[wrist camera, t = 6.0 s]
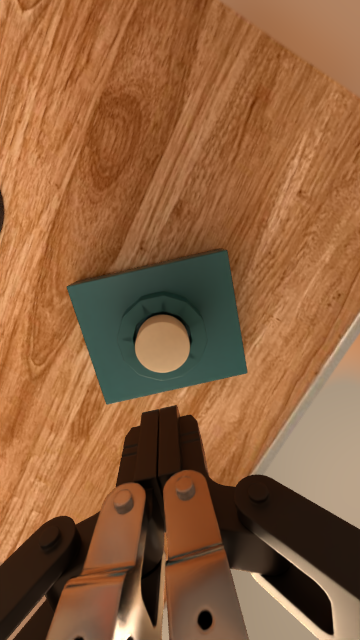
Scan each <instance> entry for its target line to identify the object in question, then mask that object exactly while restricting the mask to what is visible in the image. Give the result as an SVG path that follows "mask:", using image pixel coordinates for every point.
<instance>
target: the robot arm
mask: <svg viewBox="0 0 360 640" xmlns="http://www.w3.org/2000/svg"><path fill="white" fill-rule="evenodd" d="M123 448H124V449H123V452H122V458H121V462H120V467H119V472H118V478H117V483H116V488H114V489H113V490H112V491H111V492H110V493H109V494H108V495H107V497H106V498H105V500H104V502H103V504H102V507H101V511H99V512H98V513H96V514H95V515H93V516H91V517H89V518H87V519H86V520H84V521H82V522H80V523H78V524H76V525H75V523H74V521H73V519H72V518H70V517H68V516H59V517H56V518H53V519H51V520H49V521H48V522H46V523H45V524H43V525H42V526H41V527H40V528H39V529H38V530H37V531H36V532H35V533H34V534H32V535H31V536H30V537H29V538H28V539H27V540H26V541H25V542H24V543H23V544H22V545H21V546H20V547H19V548H18V549H17V550H16V551H15V552H14V553H13V554H12V555H11V556H10V557H9V558H8V559H7V560H6V561H5V562H4V563H3V564H2V565H1V566H0V640H7V639H8V638H9V636H10V635H11V634H12V633H13V632H14V630H15V629H16V628H17V627H18V626H19V625H20V623H21V622H22V621H23V620H24V619H25V617H26V616H27V615H28V614H29V613H30V612H31V610H32V609H33V608H34V607H35V606H36V604H37V603H38V602H39V601H40V600H41V599H42V597H43V596H44V595H45V597H46V601H45V602H44V603H43V604H42V605H41V606H40V608H39V609H38V610H37V611H36V612H35V614H34V615H33V616H32V617H31V619H30V620H29V621H28V622H27V623H26V624H25V626H24V627H23V628H22V629H21V631H20V632H19V633H18V634H17V635H16V637H15V638H14V639H13V640H162V619H163V602H164V586H165V581H166V596H167V610H168V626H169V640H249V638H248V634H247V630H246V627H245V623H244V620H243V615H242V612H241V608H240V604H239V601H238V597H237V593H236V589H235V585H234V582H233V578H232V574H231V570H230V569H236V570H241V571H247V572H251V574H252V576H253V577H254V579H255V580H256V581H257V582H258V583H259V584H260V585H261V586H262V587H263V588H264V589H265V590H267V591H268V592H269V593H270V594H271V595H272V596H273V597H274V598H275V599H276V600H277V601H278V602H279V603H281V604H282V605H283V606H284V607H285V608H286V609H287V610H288V611H289V612H290V613H291V614H292V615H293V616H294V617H296V618H297V619H298V620H299V621H300V622H301V623H302V624H303V625H304V626H305V627H306V628H307V629H309V630H310V631H311V632H312V633H313V634H314V635H315V636H316V637H317V638H318V639H319V640H360V529H358V528H357V527H355V526H353V525H351V524H349V523H348V522H346V521H344V520H343V519H341V518H339V517H337V516H336V515H334V514H332V513H331V512H329V511H327V510H325V509H324V508H322V507H320V506H318V505H317V504H315V503H313V502H311V501H310V500H308V499H306V498H305V497H303V496H301V495H299V494H298V493H296V492H294V491H293V490H291V489H289V488H287V487H286V486H284V485H282V484H280V483H279V482H277V481H275V480H274V479H272V478H270V477H267V476H264V475H251V476H247V477H245V478H243V479H242V480H241V481H240V482H239V483H238V484H237V485H236V487H232V486H224V485H220V484H218V483H216V482H214V481H213V480H212V479H211V478H210V477H209V474H208V469H207V463H206V458H205V453H204V448H203V444H202V440H201V435H200V431H199V427H198V423H197V421H196V419H195V418H194V417H193V416H192V415H186V416H182V417H180V414H179V410H178V407H177V405H175V406H170V407H166V408H161V409H160V410H159V409H157V410H153V411H148V412H144V413H142V416H141V424H140V426H137V427H133V428H131V430H130V431H129V433H128V434H127V435H126V437H125V441H124V447H123ZM164 532H166V535H167V548H168V561H166V554H165V550H164Z"/></svg>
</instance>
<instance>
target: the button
mask: <svg viewBox="0 0 360 640" xmlns="http://www.w3.org/2000/svg"><path fill="white" fill-rule="evenodd" d="M135 352H136V356H137V358H138V360H139V361H140V363H141V364H142V365H143V366H145V367H146V368H147V369H149V370H151V371H154V372H159V373H166V372H170V371H173V370H176V369H177V368H179V367H180V366H181V365H182V364H183V363H184V362H185V361H186V359H187V357H188V355H189V352H190V342H189V338H188V334H187V330H186V328H185V326H184V325H183V324H182V322H181V321H179V320H178V319H177V318H175V317H173V316H170V315H164V314H163V315H155V316H152V317H150V318H149V319H147V320H146V321H145V322H144V323H143V324H142V325H141V327H140V329H139V331H138V334H137V338H136V342H135Z"/></svg>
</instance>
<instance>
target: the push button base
mask: <svg viewBox="0 0 360 640" xmlns="http://www.w3.org/2000/svg"><path fill="white" fill-rule="evenodd" d="M67 290H68V293H69V295H70V298H71V301H72V304H73V307H74V310H75V313H76V316H77V319H78V322H79V325H80V328H81V331H82V334H83V337H84V340H85V343H86V346H87V349H88V352H89V355H90V357H91V360H92V363H93V366H94V369H95V372H96V375H97V378H98V381H99V384H100V387H101V390H102V393H103V396H104V399H105V402H106V404H112V403H116V402H121V401H125V400H130V399H134V398H139V397H143V396H148V395H152V394H157V393H161V392H165V391H170V390H174V389H179V388H183V387H188V386H192V385H197V384H201V383H206V382H210V381H215V380H219V379H224V378H228V377H232V376H237V375H241V374H246V373H247V367H246V361H245V355H244V348H243V342H242V336H241V330H240V324H239V318H238V312H237V306H236V300H235V294H234V288H233V282H232V276H231V270H230V264H229V258H228V252H227V250H224V249H216V250H212V251H208V252H203V253H199V254H194V255H190V256H186V257H181V258H177V259H172V260H168V261H164V262H159V263H155V264H151V265H146V266H142V267H137V268H133V269H129V270H124V271H120V272H115V273H111V274H107V275H102V276H98V277H94V278H89V279H85V280H80V281H76V282H74V283H73V284H71V285H69V286H67ZM163 314H164V315H170V316H173V317H175V318H177V319H178V320H179V321H181V322H182V324H183V325H184V326H185V328H186V330H187V334H188V338H189V342H190V352H189V355H188V357H187V359H186V361H185V362H184V363H183V364H182V365H181V366H180V367H179V368H177V369H176V370H173V371H170V372H166V373H159V372H154V371H151V370H149V369H147V368H146V367H145V366H143V365H142V364H141V363H140V361H139V360H138V358H137V356H136V352H135V342H136V338H137V334H138V331H139V329H140V327H141V325H142V324H143V323H144V322H145V321H146V320H147V319H149V318H150V317H152V316H155V315H163Z"/></svg>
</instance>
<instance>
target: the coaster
mask: <svg viewBox="0 0 360 640" xmlns="http://www.w3.org/2000/svg"><path fill="white" fill-rule="evenodd" d="M3 216H4V210H3V201H2V195H1V192H0V231H1V229H2V224H3Z"/></svg>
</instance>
